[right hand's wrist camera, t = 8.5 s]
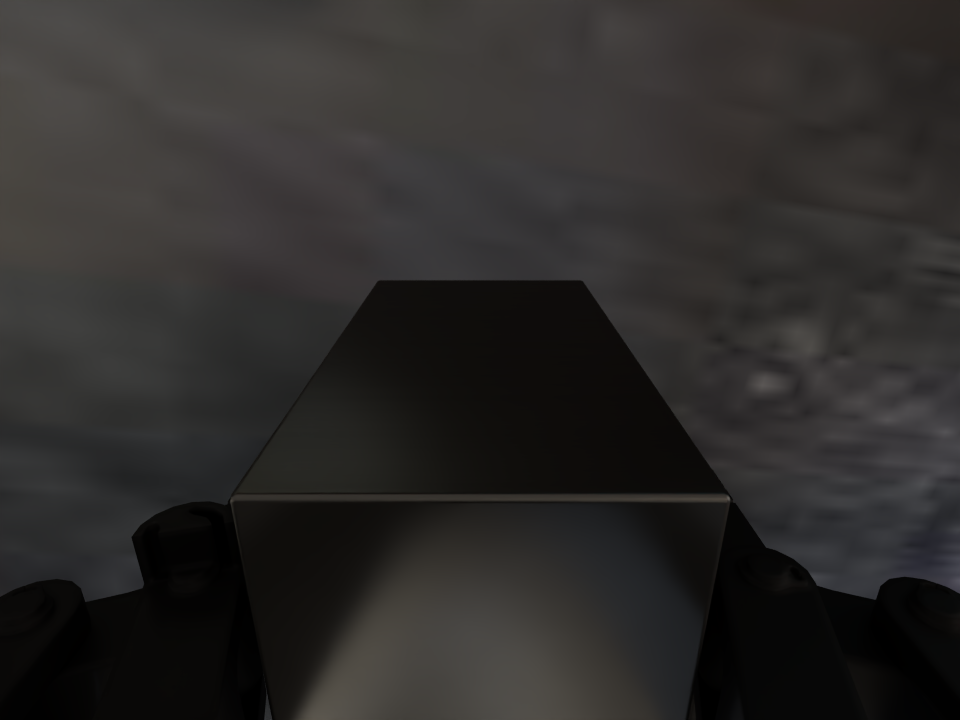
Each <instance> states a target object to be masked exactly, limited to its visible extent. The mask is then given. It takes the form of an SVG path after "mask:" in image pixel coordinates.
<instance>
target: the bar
mask: <svg viewBox="0 0 960 720" xmlns="http://www.w3.org/2000/svg"><path fill="white" fill-rule="evenodd" d="M230 503H231V508H232V513H233V518H234V524H235V529H236V534H237V539H238V544H239V550H240V555H241V560H242V565H243V570H244V575H245V581H246V586H247V591H248V596H249V601H250V606H251V612H252V617H253V622H254V627H255V632H256V638H257V643H258V648H259V653H260V658H261V663H262V669H263V674H264V679H265V684H266V689H267V694H268V700H269V705H270V710H271V715H272V720H688V717H689V712H690V707H691V702H692V697H693V691H694V686H695V681H696V676H697V671H698V666H699V660H700V655H701V650H702V645H703V640H704V635H705V629H706V624H707V619H708V614H709V609H710V604H711V598H712V593H713V588H714V583H715V578H716V573H717V567H718V562H719V557H720V552H721V547H722V542H723V536H724V531H725V526H726V521H727V516H728V510H729V505H730V497H729V494H728V492H727V491H726V489H725V488H724V486H723V485H722V484H721V482H720V481H719V479H718V478H717V476H716V475H715V473H714V472H713V470H712V469H711V467H710V466H709V465H708V463H707V462H706V460H705V459H704V457H703V456H702V454H701V453H700V451H699V450H698V449H697V447H696V446H695V444H694V443H693V441H692V440H691V438H690V437H689V435H688V434H687V432H686V431H685V430H684V428H683V427H682V425H681V424H680V422H679V421H678V419H677V418H676V416H675V415H674V414H673V412H672V411H671V409H670V408H669V406H668V405H667V403H666V402H665V400H664V399H663V397H662V396H661V395H660V393H659V392H658V390H657V389H656V387H655V386H654V384H653V383H652V381H651V380H650V379H649V377H648V376H647V374H646V373H645V371H644V370H643V368H642V367H641V365H640V364H639V362H638V361H637V360H636V358H635V357H634V355H633V354H632V352H631V351H630V349H629V348H628V346H627V345H626V344H625V342H624V341H623V339H622V338H621V336H620V335H619V333H618V332H617V330H616V329H615V327H614V326H613V325H612V323H611V322H610V320H609V319H608V317H607V316H606V314H605V313H604V311H603V310H602V309H601V307H600V306H599V304H598V303H597V301H596V300H595V298H594V297H593V295H592V294H591V292H590V291H589V290H588V288H587V287H586V285H585V284H584V282H583V281H581V280H380V281H378V282H377V283H376V284H375V286H374V287H373V289H372V290H371V292H370V293H369V295H368V296H367V298H366V299H365V300H364V302H363V303H362V305H361V306H360V308H359V309H358V311H357V312H356V314H355V315H354V316H353V318H352V319H351V321H350V322H349V324H348V325H347V327H346V328H345V330H344V331H343V333H342V334H341V335H340V337H339V338H338V340H337V341H336V343H335V344H334V346H333V347H332V349H331V350H330V351H329V353H328V354H327V356H326V357H325V359H324V360H323V362H322V363H321V365H320V366H319V367H318V369H317V370H316V372H315V373H314V375H313V376H312V378H311V379H310V381H309V382H308V384H307V385H306V386H305V388H304V389H303V391H302V392H301V394H300V395H299V397H298V398H297V400H296V401H295V402H294V404H293V405H292V407H291V408H290V410H289V411H288V413H287V414H286V416H285V417H284V418H283V420H282V421H281V423H280V424H279V426H278V427H277V429H276V430H275V432H274V433H273V435H272V436H271V437H270V439H269V440H268V442H267V443H266V445H265V446H264V448H263V449H262V451H261V452H260V453H259V455H258V456H257V458H256V459H255V461H254V462H253V464H252V465H251V467H250V468H249V469H248V471H247V472H246V474H245V475H244V477H243V478H242V480H241V481H240V483H239V484H238V486H237V487H236V488H235V490H234V491H233V493H232V495H231V498H230Z"/></svg>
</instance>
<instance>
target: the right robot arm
mask: <svg viewBox="0 0 960 720" xmlns="http://www.w3.org/2000/svg"><path fill="white" fill-rule="evenodd" d="M713 472H714V471H713ZM715 475H716V474H715ZM717 478H718V477H717ZM719 481H720V480H719ZM720 482H721V481H720ZM721 484H722V483H721ZM722 485H723V484H722ZM726 491H727V490H726ZM728 494H729V493H728ZM729 497H730V505H729V510H728V516H727V521H726V526H725V531H724V536H723V542H722V547H721V552H720V557H719V562H718V567H717V573H716V578H715V583H714V588H713V593H712V598H711V604H710V609H709V614H708V619H707V624H706V629H705V635H704V640H703V645H702V650H701V655H700V660H699V666H698V671H697V676H696V681H695V686H694V691H693V697H692V702H691V707H690V712H689V717H688V720H960V594H959V593H957V592H955V591H953V590H952V589H950V588H948V587H945V586H943V585H940V584H936V583H934V582H931V581H928V580H925V579H917V578H910V577H900V578H893V579H889V580H887V581H886V582H885V583H884V584H883V585H881V586H880V589H879V592H878V595H877V598H876V600H873V599H869V598H864V597H860V596H855V595H851V594H847V593H842V592H838V591H833V590H830V589H826V588H823V587H820V586H817V585H816V583H815V581H814V580H813V578H812V577H811V575H810V574H809V572H808V571H807V570H806V569H805V568H804V567H802V566H801V565H800V564H799V563H798V562H796V561H795V560H794V559H792V558H790V557H788V556H786V555H784V554H782V553H780V552H778V551H776V550H773V549H769V548H766V547H765V546H764V544H763V543H762V541H761V540H760V538H759V537H758V535H757V534H756V532H755V531H754V530H753V528H752V527H751V525H750V524H749V522H748V521H747V519H746V518H745V516H744V515H743V513H742V512H741V511H740V509H739V508H738V506H737V505H736V503H733V499H732V497H731V496H730V495H729ZM132 541H133V544H134V548H135V552H136V555H137V559H138V562H139V566H140V570H141V573H142V577H143V580H144V586H143V588H142V589H139V590H135V591H132V592H129V593H124V594H120V595H115V596H111V597H107V598H102V599H98V600H93V601H89V602H85V600H84V597H83V594H82V591H81V588H80V587H78V586H77V585H76V584H75V583H73V582H72V581H66V580H60V579H54V580H46V581H39V582H35V583H32V584H29V585H26V586H22V587H20V588H17V589H14V590H12V591H10V592H9V593H7V594H5V595H3V596H1V597H0V720H264V715H265V704H266V687H265V680H264V675H263V669H262V663H261V658H260V653H259V648H258V643H257V638H256V632H255V627H254V622H253V617H252V612H251V606H250V601H249V596H248V591H247V586H246V581H245V575H244V570H243V565H242V560H241V555H240V550H239V544H238V539H237V534H236V529H235V524H234V518H233V513H232V508H231V503H230V499H229V501H228V505H225V506H224V505H222V504H218V503H214V502H191V503H187V504H183V505H178V506H174V507H172V508H169V509H167V510H165V511H163V512H160V513H158V514H156V515H154V516H153V517H151V518H150V519H149V520H147V521H146V522H144V523H143V524H142V525H140V527H139V528H138V529H137V531H136V532H135V533H134V534H133V536H132Z"/></svg>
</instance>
